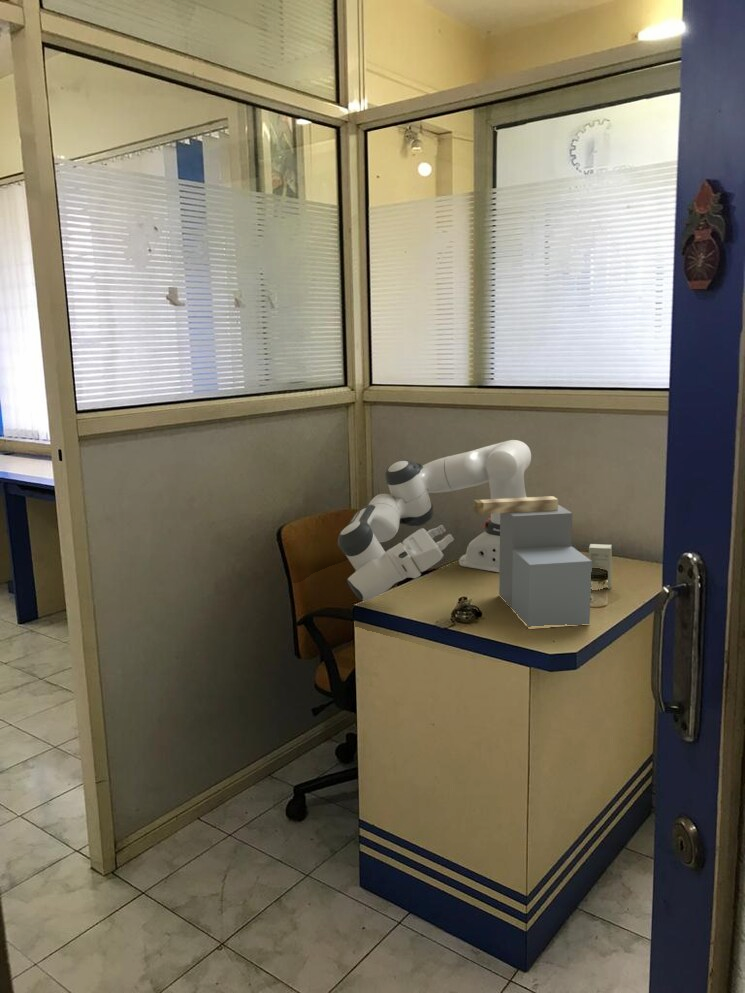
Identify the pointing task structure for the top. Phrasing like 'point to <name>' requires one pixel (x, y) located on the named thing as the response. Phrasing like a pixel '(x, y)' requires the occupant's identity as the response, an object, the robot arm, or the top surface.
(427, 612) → the top surface
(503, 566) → the stepped stand
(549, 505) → the birch bar
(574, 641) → the top surface
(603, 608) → the top surface
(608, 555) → the skincare box
